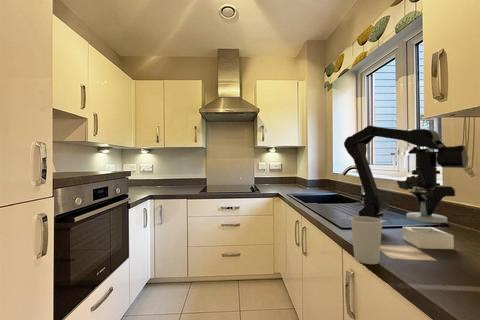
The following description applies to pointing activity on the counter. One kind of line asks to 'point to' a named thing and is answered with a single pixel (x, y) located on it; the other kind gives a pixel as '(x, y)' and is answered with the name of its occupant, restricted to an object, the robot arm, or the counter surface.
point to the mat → (404, 253)
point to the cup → (366, 239)
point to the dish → (428, 238)
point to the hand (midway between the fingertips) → (425, 214)
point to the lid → (426, 216)
